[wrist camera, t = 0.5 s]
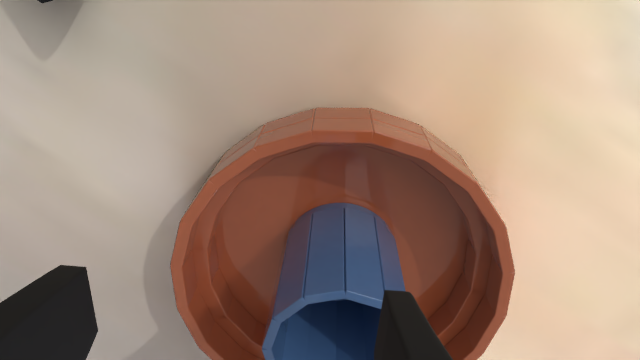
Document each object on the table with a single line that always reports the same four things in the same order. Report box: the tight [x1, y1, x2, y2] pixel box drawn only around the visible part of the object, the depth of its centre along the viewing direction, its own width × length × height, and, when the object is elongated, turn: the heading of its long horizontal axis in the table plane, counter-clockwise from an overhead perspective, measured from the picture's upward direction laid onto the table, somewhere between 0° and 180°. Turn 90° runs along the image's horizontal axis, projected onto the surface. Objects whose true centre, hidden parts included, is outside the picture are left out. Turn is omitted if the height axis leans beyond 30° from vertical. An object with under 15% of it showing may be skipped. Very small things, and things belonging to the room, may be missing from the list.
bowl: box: [170, 108, 515, 360], centre depth 21 cm, size 14×14×4 cm
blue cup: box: [262, 203, 406, 360], centre depth 19 cm, size 5×5×6 cm
